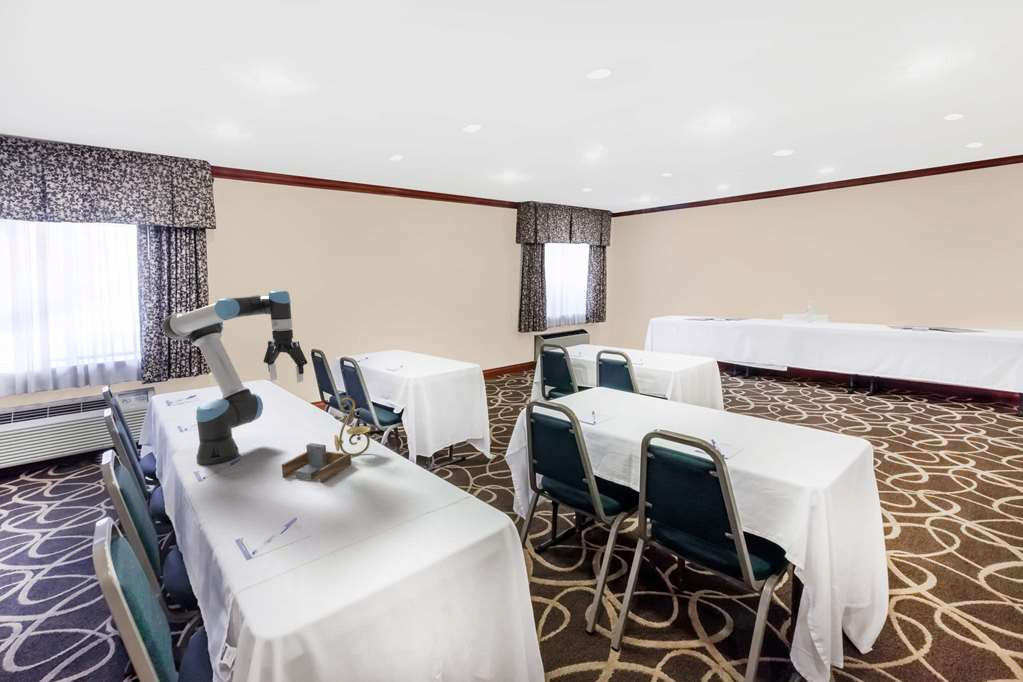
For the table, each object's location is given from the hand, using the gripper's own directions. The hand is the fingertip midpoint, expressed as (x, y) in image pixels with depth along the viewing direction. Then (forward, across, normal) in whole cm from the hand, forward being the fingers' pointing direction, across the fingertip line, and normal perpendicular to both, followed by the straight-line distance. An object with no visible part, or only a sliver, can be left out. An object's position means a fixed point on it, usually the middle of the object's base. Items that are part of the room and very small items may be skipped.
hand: (286, 380), depth 204 cm
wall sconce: (+32, +26, +6) cm, 41 cm away
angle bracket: (+31, +22, -14) cm, 41 cm away
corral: (+31, +22, -12) cm, 40 cm away
